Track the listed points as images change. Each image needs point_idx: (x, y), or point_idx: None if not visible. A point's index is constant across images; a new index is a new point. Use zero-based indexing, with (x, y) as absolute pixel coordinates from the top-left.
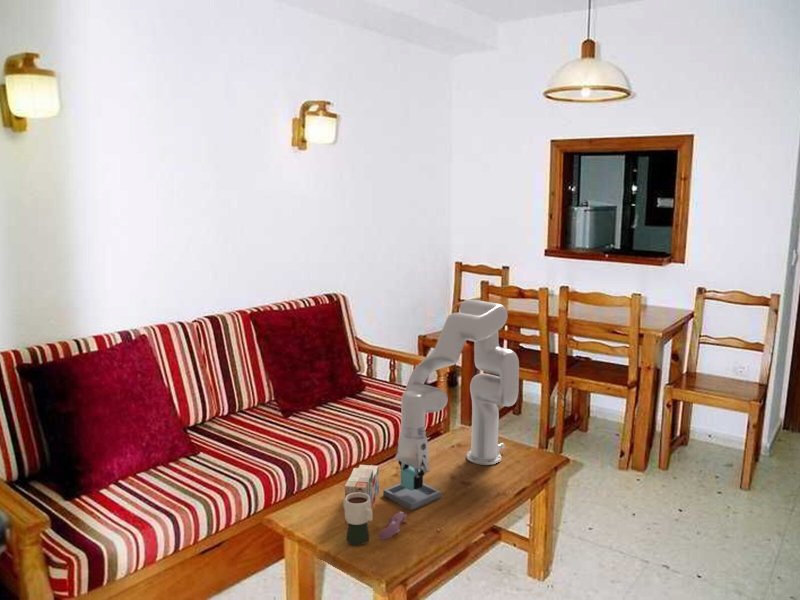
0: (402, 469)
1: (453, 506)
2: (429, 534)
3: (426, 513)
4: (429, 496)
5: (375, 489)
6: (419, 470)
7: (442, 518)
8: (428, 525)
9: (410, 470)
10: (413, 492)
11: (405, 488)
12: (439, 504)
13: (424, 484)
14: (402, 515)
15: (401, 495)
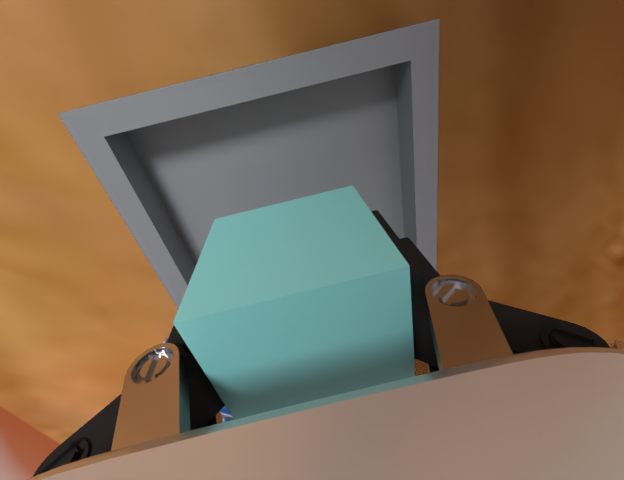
0: (217, 420)
1: (571, 25)
2: (603, 295)
3: (489, 232)
4: (435, 168)
5: (232, 417)
6: (354, 297)
7: (586, 186)
8: (563, 271)
9: (293, 378)
10: (258, 190)
11: (179, 210)
12: (477, 107)
13: (237, 86)
14: None
15: None
